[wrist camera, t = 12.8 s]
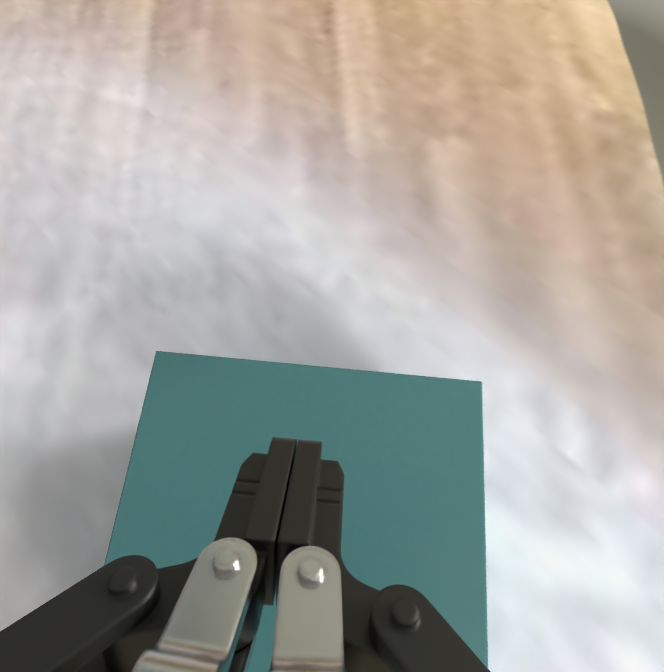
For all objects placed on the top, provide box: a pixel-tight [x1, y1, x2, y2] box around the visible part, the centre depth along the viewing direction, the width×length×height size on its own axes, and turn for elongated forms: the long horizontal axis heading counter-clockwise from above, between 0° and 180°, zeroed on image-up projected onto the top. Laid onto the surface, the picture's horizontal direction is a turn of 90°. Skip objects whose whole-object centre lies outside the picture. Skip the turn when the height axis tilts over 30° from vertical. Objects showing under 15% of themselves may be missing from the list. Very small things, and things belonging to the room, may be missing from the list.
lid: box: [104, 351, 488, 672], centre depth 17 cm, size 17×15×1 cm
